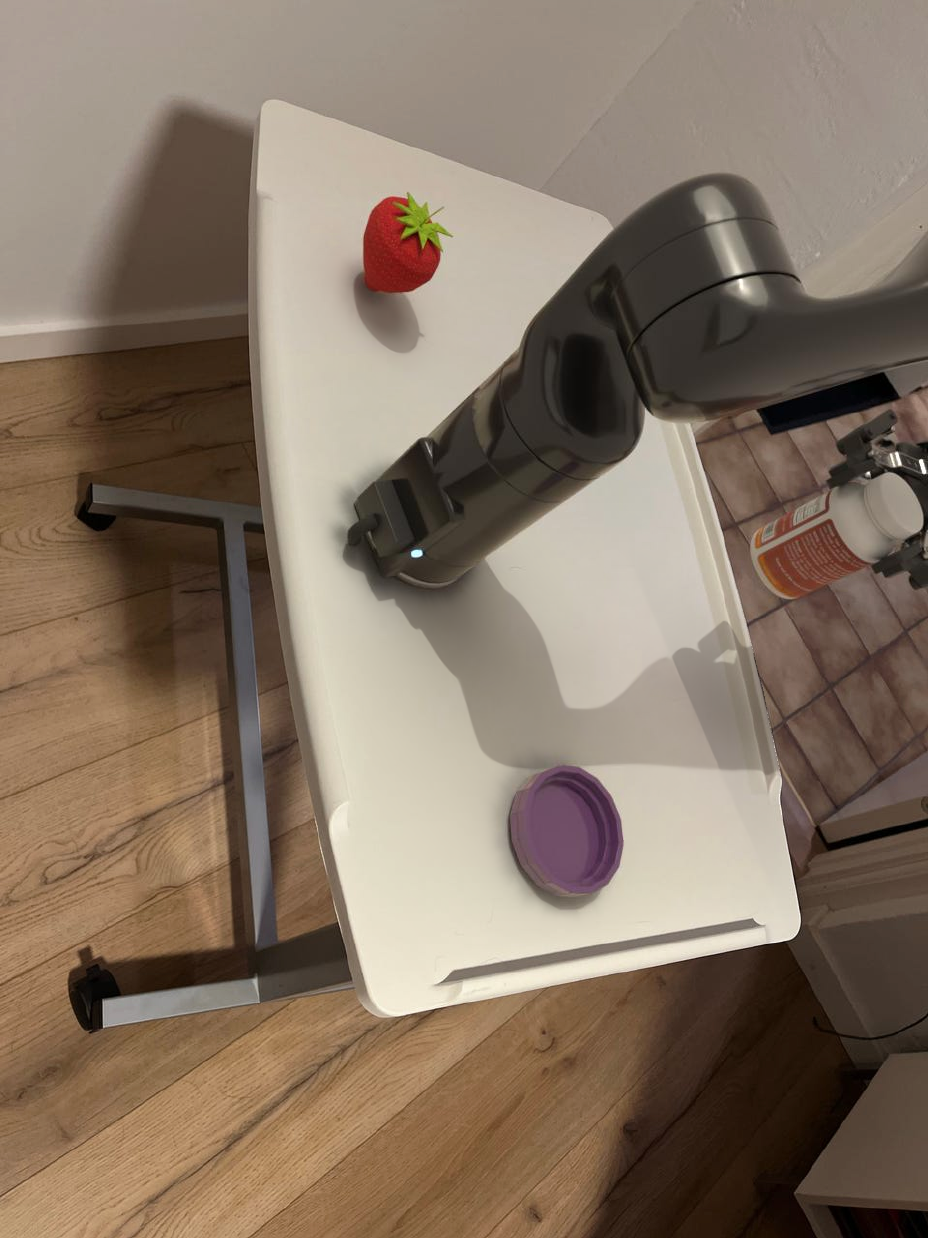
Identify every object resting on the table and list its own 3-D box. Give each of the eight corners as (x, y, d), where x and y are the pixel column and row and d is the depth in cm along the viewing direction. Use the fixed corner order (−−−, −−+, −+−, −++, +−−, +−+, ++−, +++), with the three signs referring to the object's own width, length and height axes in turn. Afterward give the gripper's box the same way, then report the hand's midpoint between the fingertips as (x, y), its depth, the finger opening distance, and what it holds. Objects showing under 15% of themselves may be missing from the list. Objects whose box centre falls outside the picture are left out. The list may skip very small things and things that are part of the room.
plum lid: (535, 917, 62) (555, 914, 60) (488, 793, 64) (506, 786, 62) (619, 870, 68) (640, 866, 66) (574, 757, 69) (593, 750, 68)
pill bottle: (807, 607, 71) (940, 550, 63) (755, 594, 68) (888, 533, 60) (791, 537, 74) (917, 473, 65) (740, 521, 70) (866, 452, 62)
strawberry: (389, 254, 78) (452, 169, 70) (411, 329, 76) (478, 251, 68) (329, 241, 74) (388, 150, 67) (350, 319, 72) (414, 235, 65)
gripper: (953, 376, 71) (859, 402, 60) (1043, 538, 70) (964, 595, 59) (868, 425, 77) (769, 456, 66) (950, 576, 75) (863, 633, 65)
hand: (862, 521), depth 63 cm, fingers closed on pill bottle, 6 cm apart
